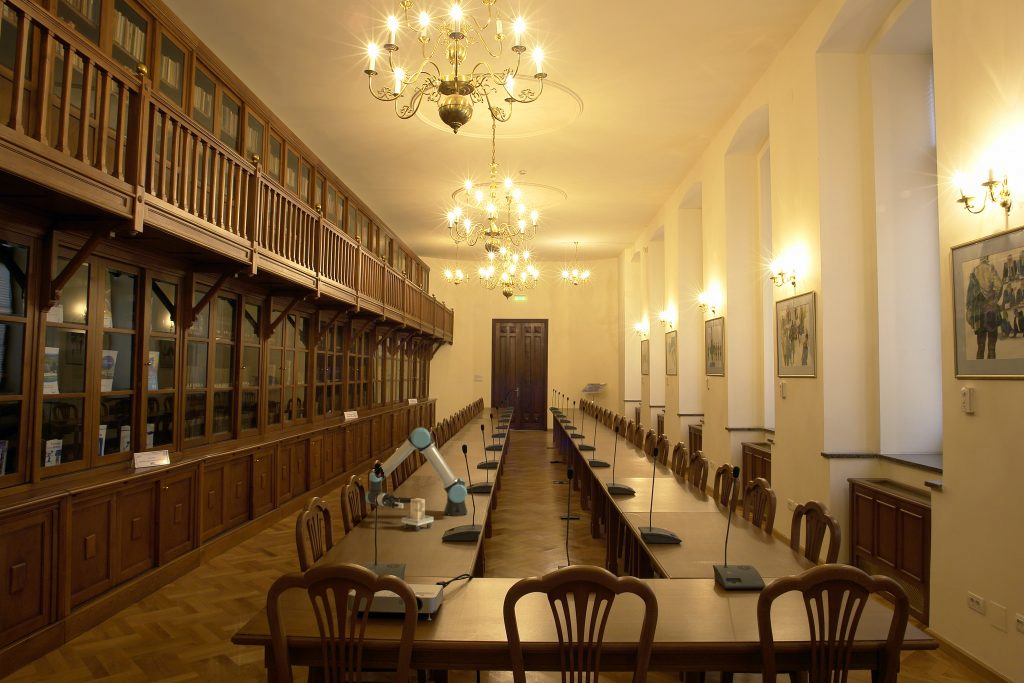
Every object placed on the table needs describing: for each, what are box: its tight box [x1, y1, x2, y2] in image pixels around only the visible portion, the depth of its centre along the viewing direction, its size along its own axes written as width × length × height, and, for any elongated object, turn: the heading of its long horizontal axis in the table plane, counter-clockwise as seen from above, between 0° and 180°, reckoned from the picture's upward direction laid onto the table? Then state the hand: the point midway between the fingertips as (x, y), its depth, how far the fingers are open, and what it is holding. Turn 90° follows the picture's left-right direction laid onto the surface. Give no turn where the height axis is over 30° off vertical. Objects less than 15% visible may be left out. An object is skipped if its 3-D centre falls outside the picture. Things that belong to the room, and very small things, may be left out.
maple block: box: [409, 497, 426, 520], centre depth 395 cm, size 6×6×12 cm
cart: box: [401, 514, 434, 532], centre depth 395 cm, size 13×13×6 cm
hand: (411, 504), depth 398 cm, fingers open, 13 cm apart
